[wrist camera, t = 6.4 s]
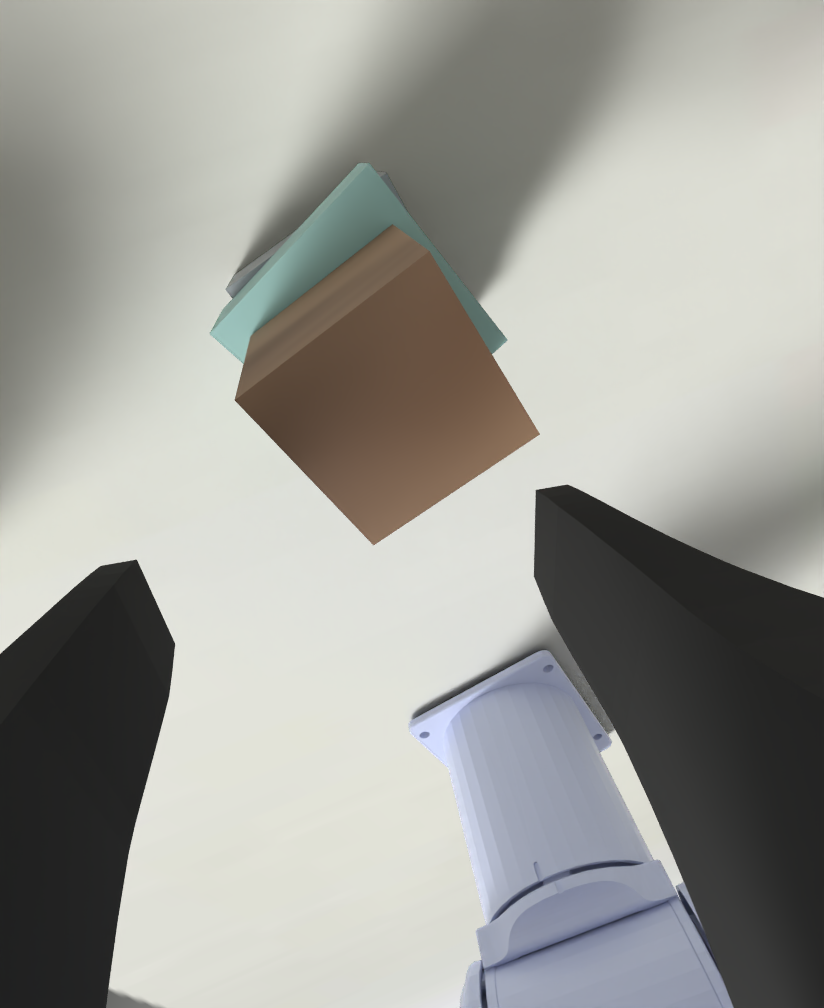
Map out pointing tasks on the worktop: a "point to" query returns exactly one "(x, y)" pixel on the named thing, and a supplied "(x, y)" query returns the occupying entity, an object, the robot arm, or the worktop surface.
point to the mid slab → (333, 260)
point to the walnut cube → (382, 387)
